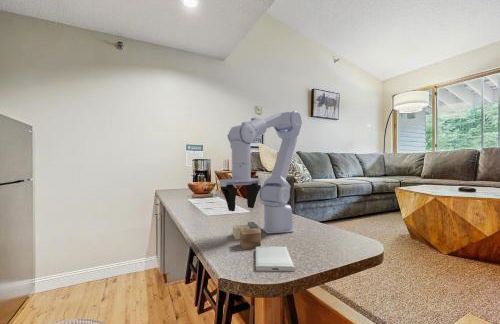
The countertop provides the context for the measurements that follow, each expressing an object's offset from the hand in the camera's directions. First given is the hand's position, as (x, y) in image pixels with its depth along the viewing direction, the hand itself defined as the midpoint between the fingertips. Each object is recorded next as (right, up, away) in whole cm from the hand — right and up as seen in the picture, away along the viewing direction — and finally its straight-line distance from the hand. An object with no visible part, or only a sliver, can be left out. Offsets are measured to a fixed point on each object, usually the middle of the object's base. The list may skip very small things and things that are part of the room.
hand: (241, 209), depth 70 cm
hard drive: (+8, -10, -15) cm, 20 cm away
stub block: (+3, -9, -5) cm, 11 cm away
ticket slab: (+1, -9, +4) cm, 10 cm away
